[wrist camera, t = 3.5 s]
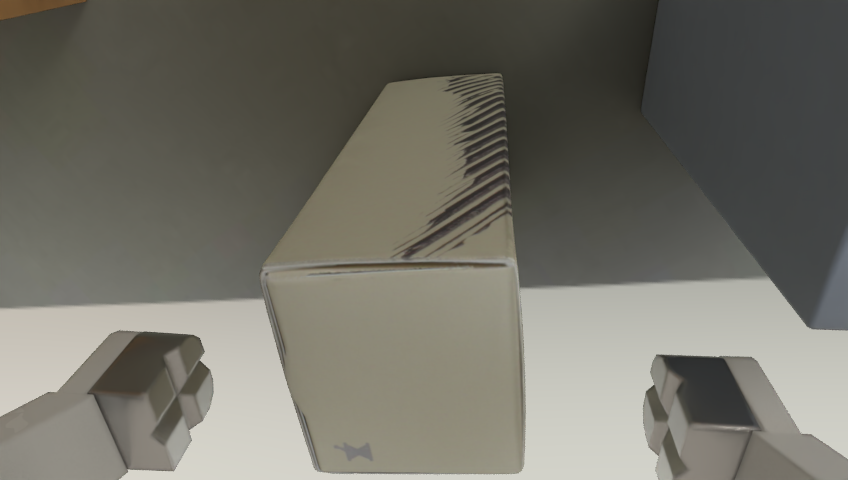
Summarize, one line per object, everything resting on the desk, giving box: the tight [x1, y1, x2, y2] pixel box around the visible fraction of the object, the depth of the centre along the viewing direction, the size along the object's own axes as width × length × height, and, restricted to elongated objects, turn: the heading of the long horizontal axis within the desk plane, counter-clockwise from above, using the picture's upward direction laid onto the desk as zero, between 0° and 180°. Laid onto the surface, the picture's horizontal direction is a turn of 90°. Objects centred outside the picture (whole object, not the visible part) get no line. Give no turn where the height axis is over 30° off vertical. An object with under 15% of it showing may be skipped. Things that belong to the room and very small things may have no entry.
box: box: [259, 73, 525, 474], centre depth 15 cm, size 5×4×13 cm
